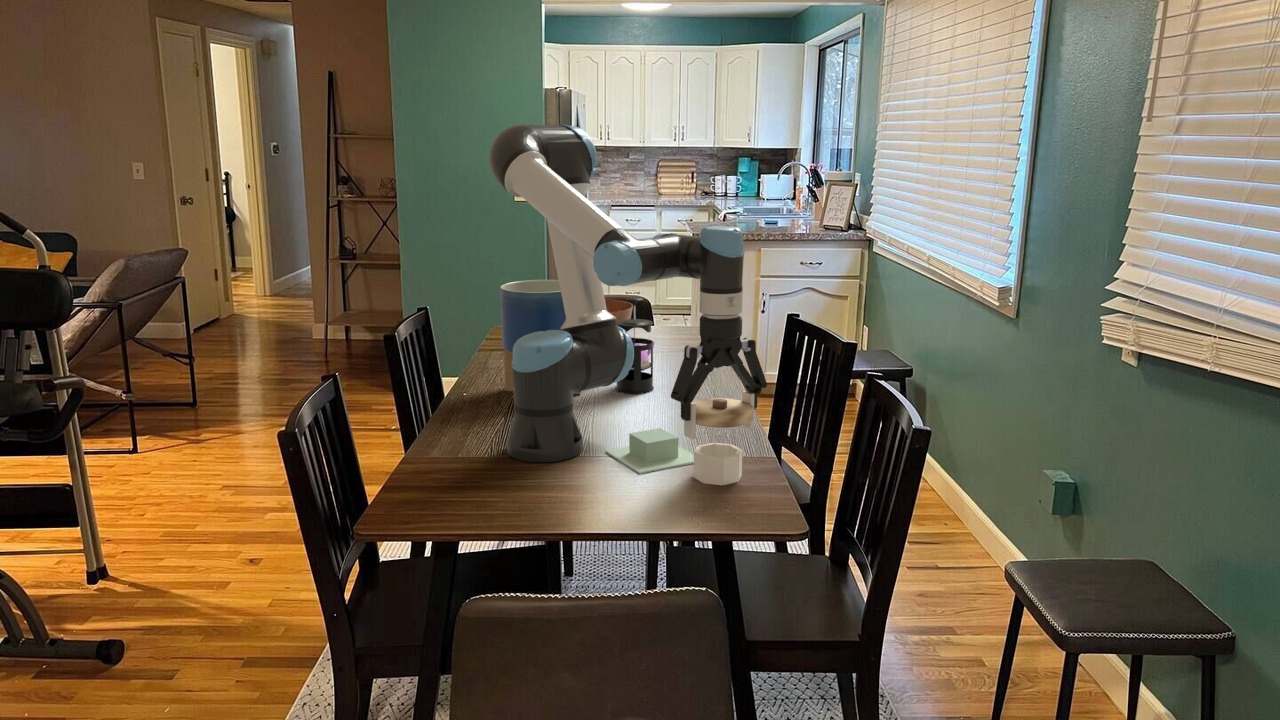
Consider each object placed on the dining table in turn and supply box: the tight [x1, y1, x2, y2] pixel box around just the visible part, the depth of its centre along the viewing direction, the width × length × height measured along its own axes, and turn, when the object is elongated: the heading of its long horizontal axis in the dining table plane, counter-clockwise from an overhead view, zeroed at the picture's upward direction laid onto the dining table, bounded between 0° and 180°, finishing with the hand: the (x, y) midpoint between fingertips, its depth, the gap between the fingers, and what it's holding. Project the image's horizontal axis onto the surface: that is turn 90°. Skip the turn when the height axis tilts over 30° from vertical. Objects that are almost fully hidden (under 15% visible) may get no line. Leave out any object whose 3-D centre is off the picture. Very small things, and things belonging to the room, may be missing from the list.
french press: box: [615, 296, 654, 395], centre depth 227 cm, size 12×9×23 cm
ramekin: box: [692, 442, 743, 486], centre depth 170 cm, size 8×8×5 cm
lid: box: [692, 397, 753, 429], centre depth 168 cm, size 12×12×3 cm
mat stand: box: [604, 427, 694, 475], centre depth 181 cm, size 14×14×4 cm
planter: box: [499, 279, 583, 395], centre depth 224 cm, size 19×19×26 cm
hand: (719, 431), depth 169 cm, fingers closed on lid, 12 cm apart
